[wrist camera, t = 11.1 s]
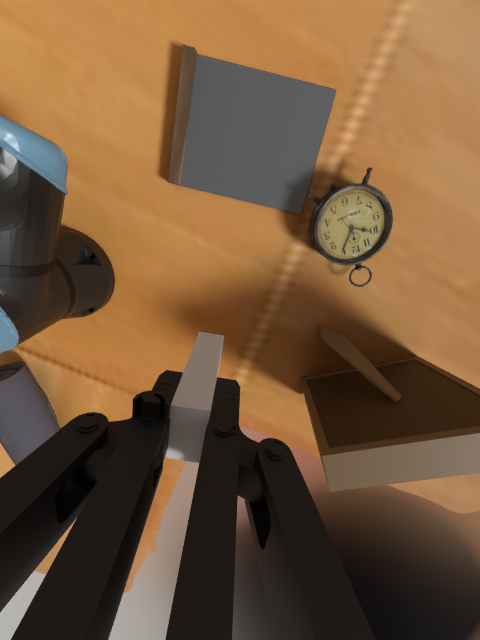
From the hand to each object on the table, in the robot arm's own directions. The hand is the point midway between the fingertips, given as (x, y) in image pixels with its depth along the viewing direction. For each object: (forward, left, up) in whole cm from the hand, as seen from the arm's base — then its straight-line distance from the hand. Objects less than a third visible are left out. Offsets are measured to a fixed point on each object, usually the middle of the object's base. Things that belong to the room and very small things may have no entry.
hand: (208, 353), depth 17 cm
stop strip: (-12, +17, -32) cm, 39 cm away
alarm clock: (+11, +15, -30) cm, 35 cm away
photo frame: (+25, -12, -33) cm, 43 cm away
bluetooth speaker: (-35, -40, -33) cm, 62 cm away
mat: (-2, +17, -32) cm, 37 cm away
